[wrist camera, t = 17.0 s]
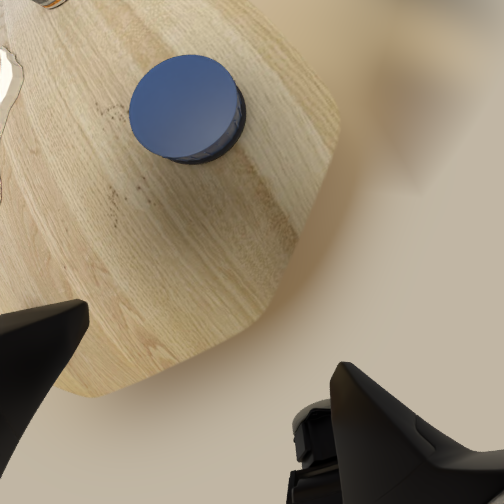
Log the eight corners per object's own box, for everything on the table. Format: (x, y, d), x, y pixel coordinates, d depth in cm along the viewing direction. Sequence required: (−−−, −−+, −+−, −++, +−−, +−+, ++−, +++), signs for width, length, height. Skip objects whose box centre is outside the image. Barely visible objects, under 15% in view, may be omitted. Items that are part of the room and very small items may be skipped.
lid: (193, 56, 16) (181, 37, 12) (263, 109, 17) (263, 96, 13) (131, 124, 17) (109, 116, 14) (194, 181, 18) (181, 182, 15)
